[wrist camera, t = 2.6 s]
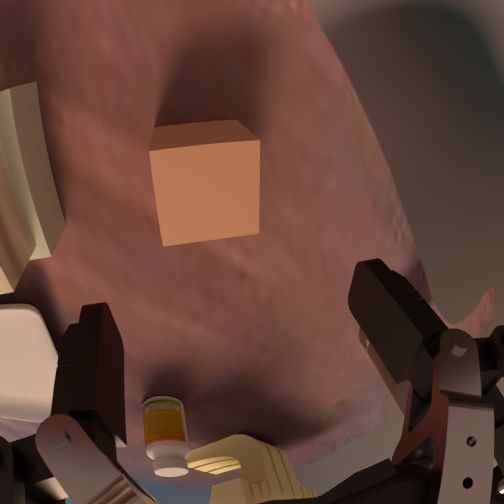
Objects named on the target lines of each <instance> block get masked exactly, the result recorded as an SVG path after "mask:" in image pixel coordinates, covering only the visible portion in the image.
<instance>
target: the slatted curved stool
mask: <svg viewBox="0 0 504 504" xmlns="http://www.w3.org/2000/svg"><path fill="white" fill-rule="evenodd" d="M185 460H186V461H187V464H188V467H189V468H193V467H194V469H196V470H200V471H204V472H207V471H208V473H213V474H219V473H222V472H225V471H229V470H233V469H236V468H240V467H241V478H236V479H233V480H230V481H227V482H223V483H220V484H217V485H213V486H212V495H211V499H210V502H209V504H258V503H262V502H266V501H270V500H285V499H301V498H314V497H318V496H317V493H316V491H315V489H311V490H306V489H305V488H304V487H303V486H302V485H299V483H298V480H297V478H296V476H295V474H294V472H293V470H292V468H291V465H290V463H289V461H288V458H287V456H286V454H285V452H284V451H283V450H281V449H280V448H277V447H275V446H272V445H270V444H267V443H264V442H262V441H259V440H257V439H255V438H252V437H250V436H247V435H243V434H235V435H232V436H229V437H227V438H224V439H222V440H219V441H216V442H214V443H211V444H208V445H206V446H203V447H200V448H197V449H194V450H191V451H190V454H189V456H188V457H186V458H185Z"/></svg>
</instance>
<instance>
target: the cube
mask: <svg viewBox="0 0 504 504" xmlns="http://www.w3.org/2000/svg"><path fill="white" fill-rule="evenodd" d="M149 154H150V162H151V170H152V178H153V185H154V192H155V199H156V206H157V212H158V219H159V225H160V231H161V237H162V242H163V246H170V245H177V244H185V243H192V242H199V241H207V240H214V239H222V238H229V237H237V236H244V235H252V234H259V196H260V140H259V139H258V138H257V137H256V136H255V135H254V134H253V133H251V132H250V131H249V130H248V129H247V128H246V127H245V126H244V125H243V124H241V123H240V122H239V121H238V120H237V119H233V120H218V121H206V122H195V123H186V124H177V125H168V126H160V127H154V130H153V135H152V140H151V145H150V150H149Z"/></svg>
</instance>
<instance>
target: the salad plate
mask: <svg viewBox="0 0 504 504" xmlns="http://www.w3.org/2000/svg"><path fill="white" fill-rule="evenodd" d="M57 362H58V353H57V351H56V349H55V346H54V344H53V341H52V339H51V336H50V334H49V332H48V329H47V327H46V324H45V322H44V320H43V317H42V315H41V313H40V312H39V310H38V309H37V308H35V307H34V306H32V305H29V304H1V305H0V417H3V418H9V419H16V420H23V421H31V422H40V423H42V422H43V421H44V420H45V419H46V418H48V417H49V416H50V413H51V406H52V397H53V389H54V381H55V374H56V368H57V367H58V365H57Z"/></svg>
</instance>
